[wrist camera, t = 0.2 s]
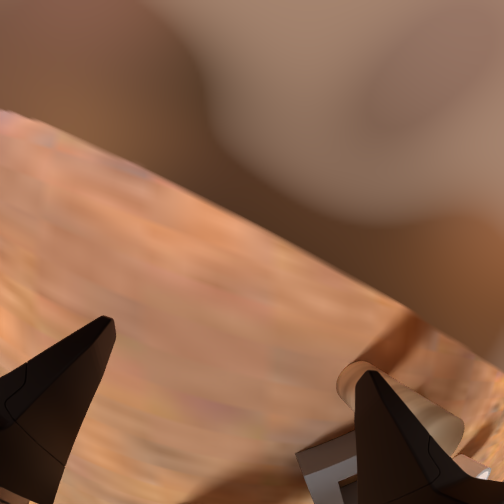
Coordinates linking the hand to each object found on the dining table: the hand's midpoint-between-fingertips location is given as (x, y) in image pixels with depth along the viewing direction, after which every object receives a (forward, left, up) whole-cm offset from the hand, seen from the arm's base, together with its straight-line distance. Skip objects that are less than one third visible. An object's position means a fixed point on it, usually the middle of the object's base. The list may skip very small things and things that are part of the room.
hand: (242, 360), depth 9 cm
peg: (-11, -9, -15) cm, 21 cm away
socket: (-23, -7, -15) cm, 28 cm away
